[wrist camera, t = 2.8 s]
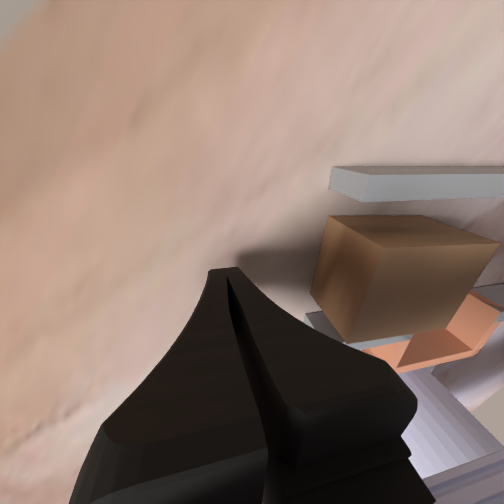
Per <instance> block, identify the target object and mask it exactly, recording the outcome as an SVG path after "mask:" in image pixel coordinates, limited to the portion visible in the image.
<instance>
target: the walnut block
mask: <svg viewBox="0 0 504 504" xmlns="http://www.w3.org/2000/svg"><path fill="white" fill-rule="evenodd" d="M500 244H501V243H499V242H496V241H493V240H490V239H487V238H484V237H481V236H479V235H476V234H473V233H470V232H467V231H464V230H461V229H458V228H456V227H453V226H450V225H447V224H444V223H441V222H438V221H435V220H433V219H430V218H427V217H424V216H421V215H368V216H328V220H327V224H326V228H325V232H324V236H323V241H322V245H321V249H320V253H319V257H318V261H317V266H316V270H315V274H314V278H313V282H312V287H311V291H310V294H311V296H312V297H313V298H314V300H315V301H316V302H317V304H318V305H319V307H320V308H321V309H322V311H323V312H324V313H325V315H326V316H327V318H328V319H329V320H330V322H331V323H332V324H333V326H334V327H335V328H336V330H337V331H338V333H339V334H340V335H341V337H342V338H343V339H344V341H345V342H346V344H352V343H358V342H365V341H371V340H377V339H384V338H390V337H397V336H403V335H409V334H416V333H422V332H428V331H435V330H441V329H446V328H447V326H448V324H449V323H450V321H451V320H452V318H453V317H454V315H455V314H456V312H457V310H458V309H459V307H460V306H461V304H462V303H463V301H464V300H465V298H466V296H467V295H468V293H469V292H470V290H471V289H472V287H473V286H474V284H475V283H476V281H477V279H478V278H479V276H480V275H481V273H482V272H483V270H484V269H485V267H486V265H487V264H488V262H489V261H490V259H491V258H492V256H493V255H494V253H495V251H496V250H497V248H498V247H499V245H500Z"/></svg>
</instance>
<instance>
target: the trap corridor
mask: <svg viewBox="0 0 504 504" xmlns="http://www.w3.org/2000/svg"><path fill="white" fill-rule="evenodd" d="M328 189H330V190H332V191H335V192H337V193H340V194H342V195H345V196H347V197H350V198H352V199H355V200H357V201H360V202H362V203H364V202H388V201H412V200H437V199H461V198H485V197H504V166H498V167H332V171H331V177H330V182H329V188H328ZM501 321H504V284H497V285H491V286H485V287H478V288H472V289H471V290H470V292H469V293H468V295H467V296H466V298H465V300H464V301H463V303H462V304H461V306H460V307H459V309H458V310H457V312H456V314H455V315H454V317H453V318H452V320H451V321H450V323H449V324H448V326H447V328H446V329H441V330H435V331H428V332H422V333H416V334H409V335H403V336H397V337H390V338H384V339H377V340H371V341H365V342H358V343H352V344H346V342H345V341H344V339H343V338H342V337H341V335H340V334H339V333H338V331H337V330H336V328H335V327H334V326H333V324H332V323H331V322H330V320H329V319H328V318H327V316H326V315H325V313H324V312H323V311H322V312H316V313H309V314H305V319H304V323H305V324H306V325H308V326H310V327H312V328H313V329H315V330H317V331H319V332H321V333H323V334H325V335H327V336H329V337H331V338H333V339H335V340H337V341H339V342H341V343H343V344H346V345H348V346H350V347H352V348H355V349H357V350H362V351H363V352H365V353H367V354H370V355H372V356H375V357H377V358H380V359H382V360H385V361H386V362H387V363H388V364H389V365H390V366H391V367H392V368H393V369H394V371H395V372H396V373H397V374H399V373H404V372H408V371H412V370H416V369H420V368H425V367H429V366H433V365H437V364H441V363H445V362H450V361H454V360H458V359H462V358H466V357H471V356H475V355H477V353H478V352H479V351H480V349H481V348H482V347H483V345H484V344H485V343H486V341H487V340H488V339H489V337H490V336H491V335H492V333H493V332H494V331H495V329H496V328H497V327H498V325H499V324H500V323H501Z"/></svg>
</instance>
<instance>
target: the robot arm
mask: <svg viewBox="0 0 504 504" xmlns="http://www.w3.org/2000/svg"><path fill="white" fill-rule="evenodd" d="M435 366H436V365H433V366H429V367H425V368H420V369H416V370H412V371H408V372H404V373H399V374H397V373H396V372H395V371H394V369H393V368H392V367H391V366H390V365H389V364H388V363H387V362H386V361H385V360H382V359H380V358H377V357H375V356H372V355H370V354H367V353H365V352H362V351H360V350H357V349H355V348H352V347H350V346H348V345H346V344H343V343H341V342H339V341H337V340H335V339H333V338H331V337H329V336H327V335H325V334H323V333H321V332H319V331H317V330H315V329H313V328H312V327H310V326H308V325H306V324H305V323H303V322H301V321H300V320H298V319H296V318H295V317H293V316H292V315H290V314H289V313H288V312H286V311H285V310H283V309H282V308H280V307H279V306H278V305H276V304H275V303H274V302H273V301H272V300H270V299H269V298H268V297H267V296H266V295H265V294H264V293H262V292H261V291H260V290H259V289H258V288H257V287H256V286H255V285H254V284H253V283H252V282H251V281H250V280H249V279H248V278H247V277H246V275H245V274H244V273H243V272H242V271H241V270H240V269H239V268H238V267H231V268H221V269H211V270H209V271H208V277H207V281H206V284H205V287H204V290H203V292H202V295H201V297H200V300H199V302H198V304H197V306H196V308H195V310H194V312H193V314H192V316H191V317H190V319H189V321H188V322H187V324H186V326H185V327H184V329H183V330H182V332H181V334H180V335H179V336H178V338H177V339H176V341H175V342H174V344H173V345H172V346H171V348H170V349H169V350H168V352H167V353H166V354H165V356H164V357H163V358H162V359H161V361H160V362H159V363H158V364H157V365H156V366H155V368H154V369H153V370H152V371H151V372H150V374H149V375H148V376H147V377H146V378H145V380H144V381H143V382H142V383H141V384H140V385H139V386H138V387H137V388H136V390H135V391H134V392H133V393H132V394H131V395H130V396H129V397H128V398H127V399H126V400H125V401H124V402H123V403H122V404H121V405H120V406H119V407H118V408H117V409H116V410H115V411H114V412H113V413H112V414H111V415H110V416H109V417H108V418H107V419H106V420H105V421H104V422H103V423H102V425H101V426H100V428H99V430H98V432H97V435H96V437H95V439H94V441H93V443H92V445H91V447H90V450H89V452H88V454H87V456H86V459H85V461H84V463H83V465H82V467H81V470H80V472H79V475H78V478H77V481H76V484H75V486H74V489H73V492H72V495H71V498H70V501H69V504H262V503H263V504H504V446H503V445H502V444H501V443H500V442H499V441H498V440H497V439H496V438H495V437H494V436H493V435H492V434H491V433H490V432H489V431H488V430H487V429H486V428H485V427H484V426H483V425H482V424H481V423H480V422H479V421H478V420H477V419H476V418H475V417H474V416H473V415H472V414H471V413H470V412H469V411H468V410H467V409H466V408H465V407H464V406H463V405H462V404H461V403H460V402H459V401H458V400H457V399H456V398H455V397H454V396H453V395H452V394H451V393H450V392H449V391H448V390H447V389H446V388H445V387H444V386H443V385H442V384H441V383H440V382H439V381H438V380H437V379H436V378H435V377H434V376H433V375H432V374H431V373H432V371H433V369H434V368H435Z"/></svg>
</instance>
